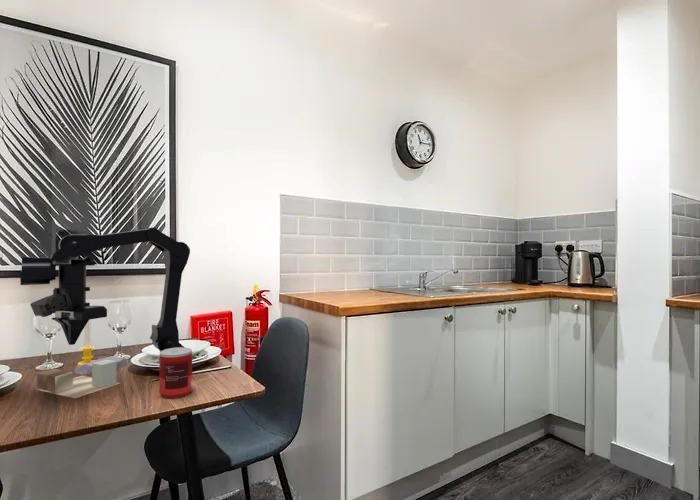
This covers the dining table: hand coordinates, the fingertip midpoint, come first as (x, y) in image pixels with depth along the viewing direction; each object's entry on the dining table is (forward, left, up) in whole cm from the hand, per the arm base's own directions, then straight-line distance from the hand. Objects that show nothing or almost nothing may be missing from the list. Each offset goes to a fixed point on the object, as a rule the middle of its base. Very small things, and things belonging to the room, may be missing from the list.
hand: (71, 344), depth 99 cm
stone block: (+13, -16, -14) cm, 25 cm away
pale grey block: (-2, -7, -12) cm, 14 cm away
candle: (+24, -20, -13) cm, 33 cm away
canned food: (-23, -12, -13) cm, 29 cm away
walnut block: (+3, 0, -10) cm, 10 cm away
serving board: (+3, -4, -13) cm, 14 cm away
